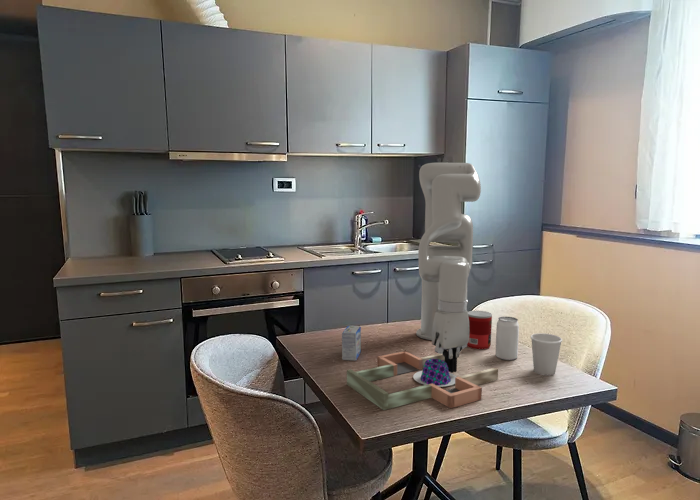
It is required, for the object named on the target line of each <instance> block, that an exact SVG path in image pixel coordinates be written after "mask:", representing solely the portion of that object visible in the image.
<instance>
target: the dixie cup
mask: <svg viewBox="0 0 700 500" xmlns="http://www.w3.org/2000/svg"><path fill="white" fill-rule="evenodd" d="M530 339H531V350H532V352H531V353H532V364H533V366H532V367H533V372H534V373H535V374H538V375H542V376H554V375H555V374H556V370H557V365H558V360H559V357H560V356H559V355H560V352H561V351H560V350H561V346H562V342H563V338H562V337H561V336H558V335H555V334H551V333H545V332H544V333H540V332H538V333H533V334H530Z"/></svg>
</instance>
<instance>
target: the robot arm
mask: <svg viewBox="0 0 700 500" xmlns="http://www.w3.org/2000/svg"><path fill="white" fill-rule="evenodd" d="M418 173H419V174H418V177H419V184H420V188H421V190H422V193H423V196H424V200H425V202H424V203H425V213H424V214H425V215H424V220H425V221H424V233H423V235H422V236H421V238H420V241H419V245H418V249H417V251H418V274H419V276H420V279H421V305H420V306H421V307H420V309H421V311H420V312H421V314H420V315H421V316H420V328H418V329H417V330H416V336H417V337H419V338H421V339H423V340H428V341H431V344H432V346H435V348H434V352H435V353H437V354H443V356H444V357H445V362H446V363H447V366H448V370H449V373H452V374H454V373H456V372H457V369H458V368H457V367H458V358H460V353H461V351H462V350H464V349H466V348H467V347H468V346H467V343H468V342H469V317H468V312H469V311H468V309H467V306H468V304H469V301H468V278H469V276H470V272H471V269H472V264H473V244H474V243H473V241H474V225H473V221H472V218H471V217H470V216H469V215H468V214H465V213H464V214H463V213H462V203H463V202H464V203H465V202H466V203H470V202H471V203H473V202H474V203H475V202H477V201H478V200H479V198H480V196H481V192H482V185H481V180H480V177H479V174H478V172H477V170H476V169H475V166H474V165H473V164H472V163H469V162H428V163H425V164H423V165H422V166H420V169H419V172H418ZM431 242H435V243H457V244H458V245H430V243H431Z"/></svg>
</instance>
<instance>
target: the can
mask: <svg viewBox="0 0 700 500" xmlns="http://www.w3.org/2000/svg"><path fill="white" fill-rule="evenodd" d="M518 321H519V320H518V318H516V317H513V316H499V317H498V320H497V322H496V335H495V357H496V358H497V359H500V360H504V361H515V360H516V359H517V358H518V353H519V335H520V332H519V329H520V325H519V324H520V323H519V322H518Z"/></svg>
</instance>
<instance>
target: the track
mask: <svg viewBox="0 0 700 500" xmlns="http://www.w3.org/2000/svg"><path fill="white" fill-rule="evenodd" d="M420 358H421V359H423V361H422V370H423V368H424V364H425V362H426V360H430V359H440V360H444V361H445V357H444V356H443V354H439V353H437V354H433V355H428V356H422V357H420ZM391 377H395V376H394V365H392V364H390V365H385V366H380V367H372V368H367V369H362V370H359V371H354V370H353V369H346V385H347V386H348V387H349V388H351V389H353V390H354V391H355V392H357V393H358V394H359V395H361V396H363V398H365V399H367V400H368V401H370V402H371V403H372V404H374V405H376V406H377V407H379V408H380V410H383V411H386V410H390V409H394V408H397V407H401V406H404V405H409V404H412V403H416V402H419V401H420V402H421V401H424V400H427V399H432V398H431V391H432V386H431V385H429V384H428V385H424V384H423V385H419V386H416V387H412V388H409V389H408V388H407V389H405V390H401V391H397V392H393V393H389V392H388V391H386V390H384V389H383V388H382V387H380V386H378V385H376V384H375V383H373V381H377V380H382V379H386V378H391ZM459 377H460V378H463V379H465V380H467V381H469V382H471V383H473V384H475V385H477V386H479V385H483V384H487V383H490V382H495V381H498V380H499V368H496V367H492V368H488V369H485V370H481V371H476V372H473V373H468V374H463V375H460V376H459Z"/></svg>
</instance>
